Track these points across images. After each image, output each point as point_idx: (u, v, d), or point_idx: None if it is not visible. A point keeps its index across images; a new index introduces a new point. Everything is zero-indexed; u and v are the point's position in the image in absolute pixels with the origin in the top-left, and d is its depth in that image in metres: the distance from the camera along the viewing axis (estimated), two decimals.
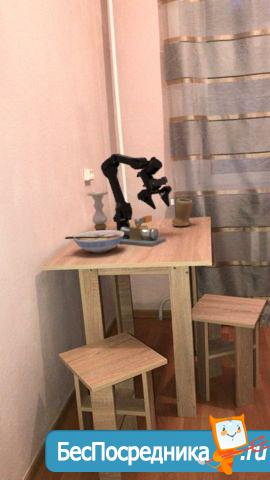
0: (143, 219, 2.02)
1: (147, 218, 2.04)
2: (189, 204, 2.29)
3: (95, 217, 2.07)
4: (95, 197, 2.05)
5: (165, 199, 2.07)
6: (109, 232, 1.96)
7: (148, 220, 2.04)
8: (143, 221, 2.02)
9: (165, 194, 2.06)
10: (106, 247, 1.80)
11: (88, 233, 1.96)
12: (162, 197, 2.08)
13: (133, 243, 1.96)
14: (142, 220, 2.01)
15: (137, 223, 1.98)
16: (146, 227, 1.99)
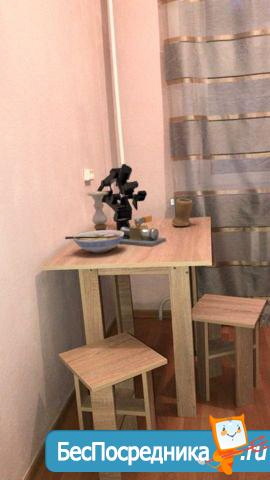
0: (143, 219, 2.02)
1: (147, 218, 2.04)
2: (189, 204, 2.29)
3: (95, 217, 2.07)
4: (95, 197, 2.05)
5: (134, 203, 2.14)
6: (109, 232, 1.96)
7: (148, 220, 2.04)
8: (143, 221, 2.02)
9: (134, 199, 2.14)
10: (106, 247, 1.80)
11: (88, 233, 1.96)
12: (132, 202, 2.16)
13: (133, 243, 1.96)
14: (142, 220, 2.01)
15: (137, 223, 1.98)
16: (146, 227, 1.99)
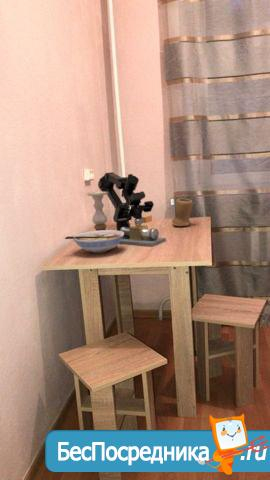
0: (143, 219, 2.02)
1: (147, 218, 2.04)
2: (189, 204, 2.29)
3: (95, 217, 2.07)
4: (95, 197, 2.05)
5: None
6: (109, 232, 1.96)
7: (148, 220, 2.04)
8: (143, 221, 2.02)
9: (138, 210, 2.09)
10: (106, 247, 1.80)
11: (88, 233, 1.96)
12: None
13: (133, 243, 1.96)
14: (142, 220, 2.01)
15: (137, 223, 1.98)
16: (146, 227, 1.99)
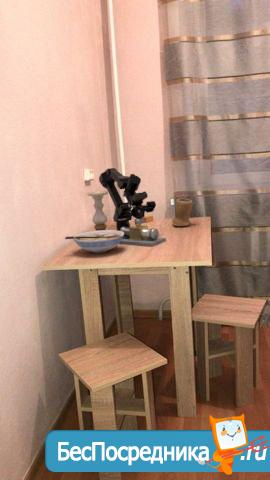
0: (143, 219, 2.01)
1: (148, 218, 2.03)
2: (189, 204, 2.29)
3: (95, 217, 2.07)
4: (95, 197, 2.05)
5: (141, 215, 2.07)
6: (109, 232, 1.96)
7: (149, 220, 2.04)
8: (143, 221, 2.01)
9: (141, 210, 2.07)
10: (106, 247, 1.80)
11: (88, 233, 1.96)
12: (139, 214, 2.09)
13: (133, 243, 1.96)
14: (142, 220, 2.01)
15: (137, 223, 1.98)
16: (146, 227, 1.99)
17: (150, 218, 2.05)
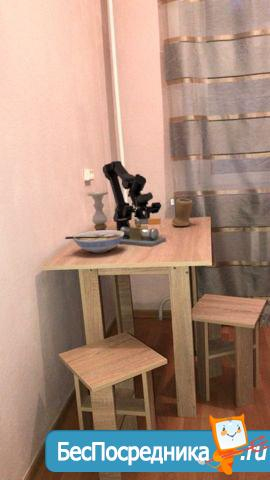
0: (145, 220, 1.98)
1: (151, 220, 1.97)
2: (189, 204, 2.29)
3: (95, 217, 2.07)
4: (95, 197, 2.05)
5: (146, 216, 2.02)
6: (109, 232, 1.96)
7: (153, 222, 1.97)
8: (145, 222, 1.98)
9: (146, 211, 2.02)
10: (106, 247, 1.80)
11: (88, 233, 1.96)
12: (144, 215, 2.04)
13: (133, 243, 1.96)
14: (143, 221, 1.98)
15: None
16: (146, 227, 1.99)
17: (155, 221, 1.96)
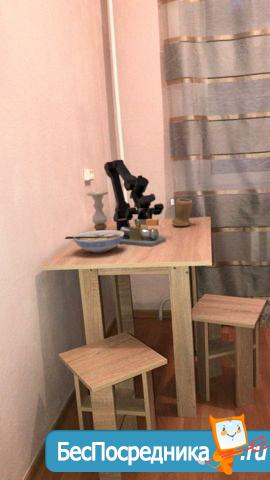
0: (144, 221, 1.96)
1: (149, 221, 1.95)
2: (189, 204, 2.29)
3: (95, 217, 2.07)
4: (95, 197, 2.05)
5: (149, 218, 2.00)
6: (109, 232, 1.96)
7: (150, 224, 1.94)
8: (144, 223, 1.97)
9: (148, 213, 2.00)
10: (106, 247, 1.80)
11: (88, 233, 1.96)
12: (147, 217, 2.02)
13: (133, 243, 1.96)
14: (142, 221, 1.97)
15: None
16: (146, 227, 1.99)
17: (152, 222, 1.94)
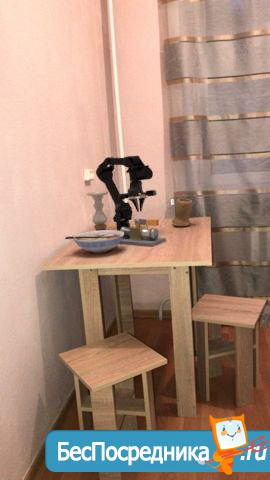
0: (144, 221, 1.96)
1: (149, 221, 1.95)
2: (189, 204, 2.29)
3: (95, 217, 2.07)
4: (95, 197, 2.05)
5: None
6: (109, 232, 1.96)
7: (150, 224, 1.94)
8: (144, 223, 1.97)
9: None
10: (106, 247, 1.80)
11: (88, 233, 1.96)
12: None
13: (133, 243, 1.96)
14: (142, 221, 1.97)
15: None
16: (146, 227, 1.99)
17: (152, 222, 1.94)
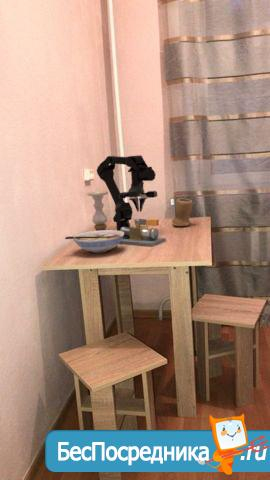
0: (144, 221, 1.96)
1: (149, 221, 1.95)
2: (189, 204, 2.29)
3: (95, 217, 2.07)
4: (95, 197, 2.05)
5: None
6: (109, 232, 1.96)
7: (150, 224, 1.94)
8: (144, 223, 1.97)
9: None
10: (106, 247, 1.80)
11: (88, 233, 1.96)
12: None
13: (133, 243, 1.96)
14: (142, 221, 1.97)
15: None
16: (146, 227, 1.99)
17: (152, 222, 1.94)
